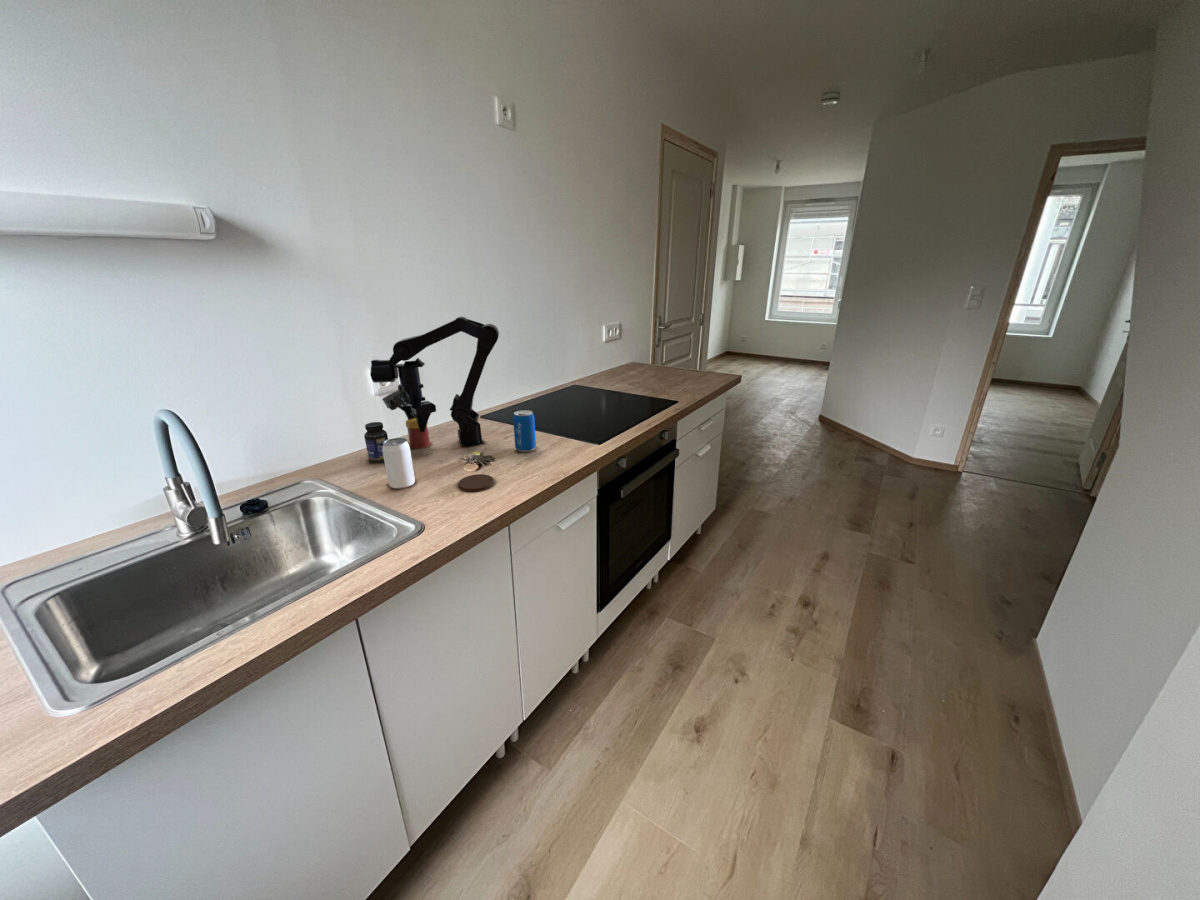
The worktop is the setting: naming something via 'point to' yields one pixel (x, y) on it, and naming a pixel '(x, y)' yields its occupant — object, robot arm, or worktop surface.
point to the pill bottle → (375, 441)
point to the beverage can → (524, 430)
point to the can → (398, 463)
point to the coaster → (476, 482)
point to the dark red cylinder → (418, 438)
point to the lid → (412, 423)
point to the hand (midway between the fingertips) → (417, 429)
